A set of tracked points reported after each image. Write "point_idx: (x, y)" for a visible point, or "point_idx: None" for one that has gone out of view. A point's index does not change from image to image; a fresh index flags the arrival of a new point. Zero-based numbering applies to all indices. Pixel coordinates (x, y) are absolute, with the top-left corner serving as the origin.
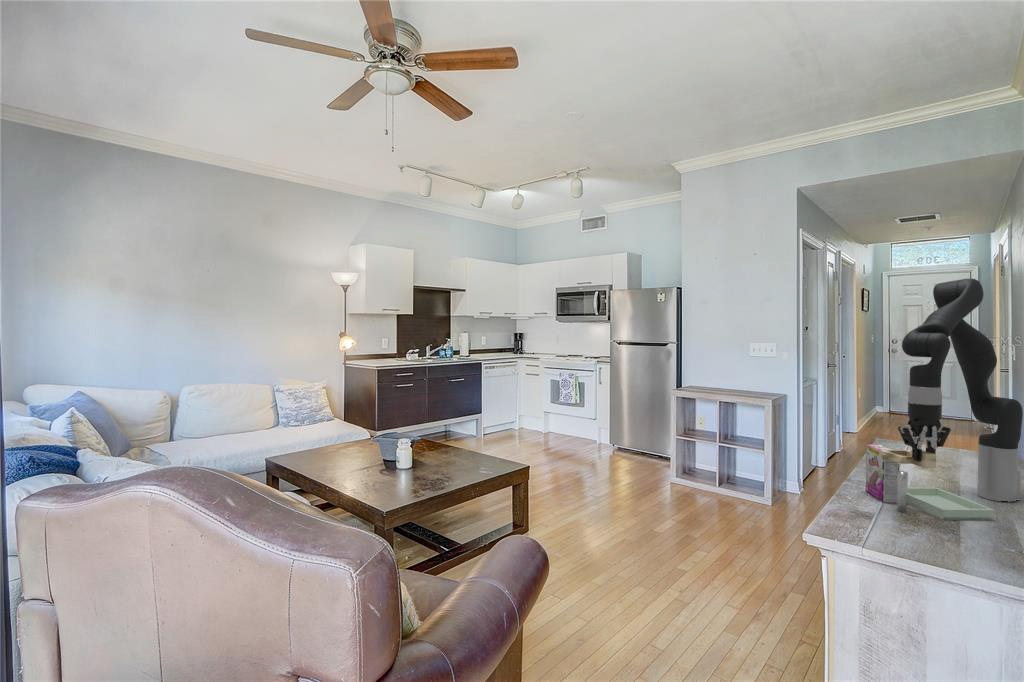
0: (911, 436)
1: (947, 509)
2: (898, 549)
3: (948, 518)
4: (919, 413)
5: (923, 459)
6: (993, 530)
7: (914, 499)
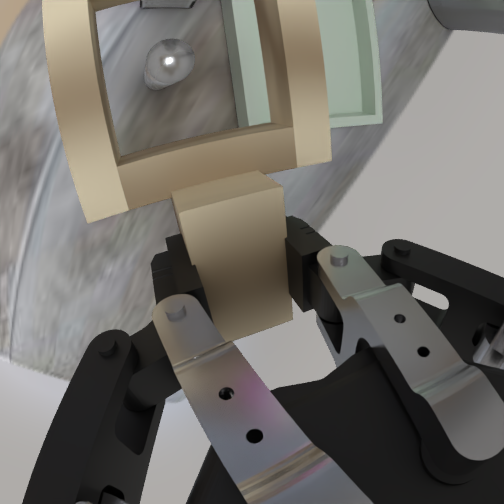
0: (141, 481)
1: None
2: (59, 354)
3: None
4: None
5: None
6: (314, 187)
7: (232, 26)
